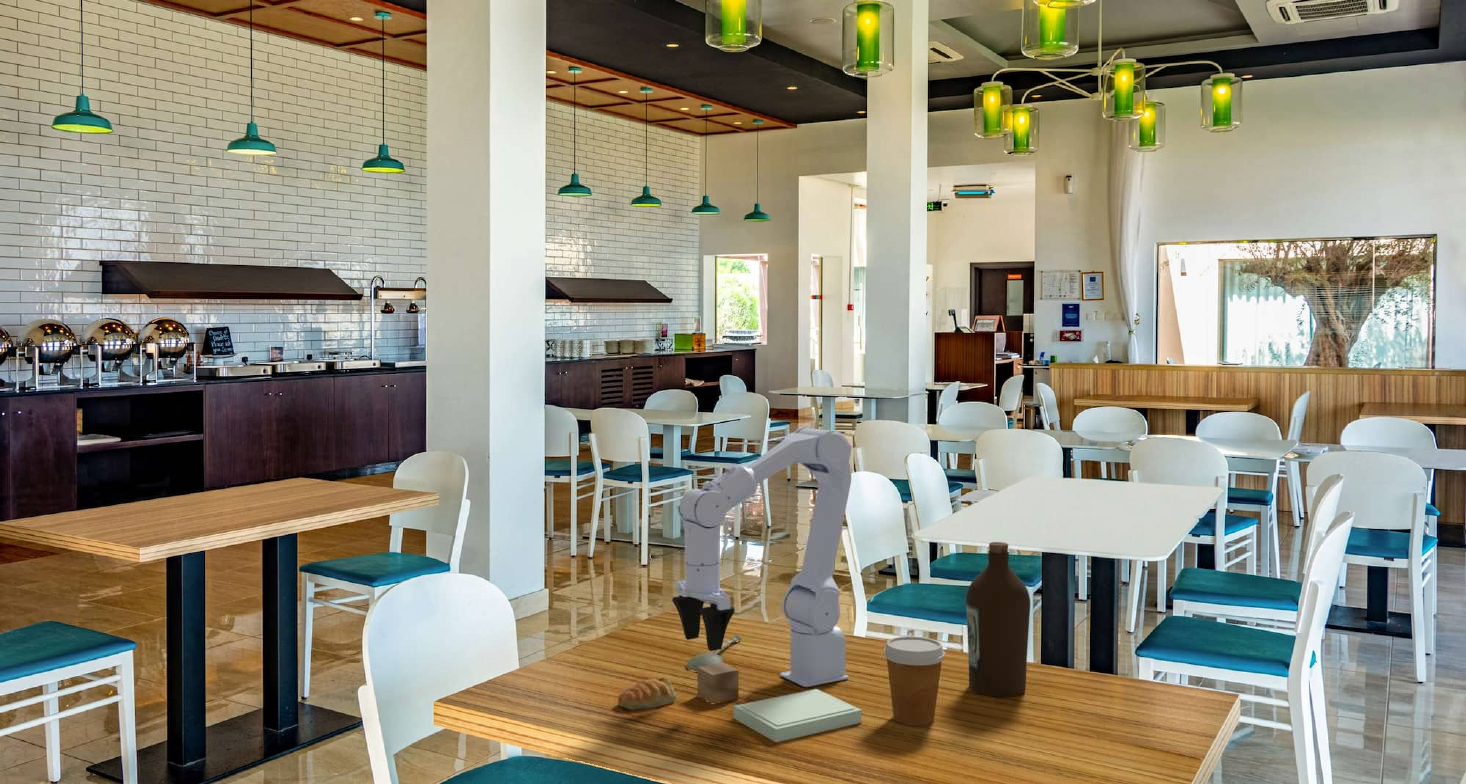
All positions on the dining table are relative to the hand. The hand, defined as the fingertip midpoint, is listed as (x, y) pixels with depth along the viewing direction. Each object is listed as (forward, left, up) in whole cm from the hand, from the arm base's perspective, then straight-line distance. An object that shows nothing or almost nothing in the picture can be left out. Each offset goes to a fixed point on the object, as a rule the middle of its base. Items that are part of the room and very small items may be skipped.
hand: (703, 644), depth 177 cm
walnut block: (-3, 0, -10) cm, 10 cm away
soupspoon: (-15, -20, -10) cm, 27 cm away
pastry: (+8, -4, -10) cm, 13 cm away
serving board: (-8, +16, -9) cm, 20 cm away
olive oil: (-46, +21, -10) cm, 51 cm away
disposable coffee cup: (-24, +25, -10) cm, 36 cm away
